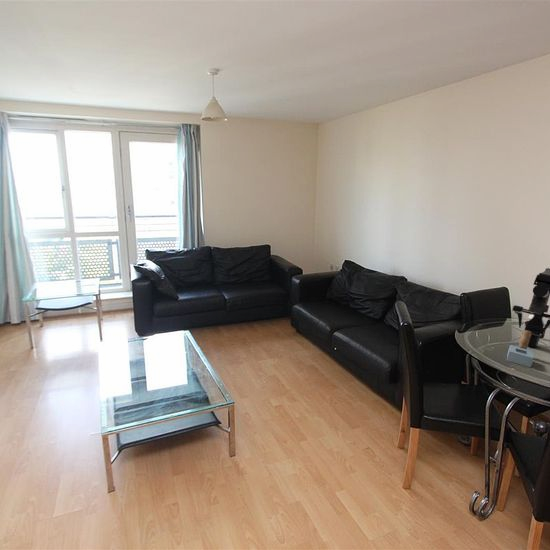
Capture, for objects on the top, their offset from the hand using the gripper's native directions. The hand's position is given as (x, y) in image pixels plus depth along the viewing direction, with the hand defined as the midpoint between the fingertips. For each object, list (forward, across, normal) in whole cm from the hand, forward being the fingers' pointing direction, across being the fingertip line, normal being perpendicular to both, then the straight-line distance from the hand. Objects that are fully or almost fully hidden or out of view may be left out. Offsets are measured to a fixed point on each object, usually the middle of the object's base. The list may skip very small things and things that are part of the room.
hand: (530, 330), depth 179 cm
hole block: (+16, -2, +6) cm, 17 cm away
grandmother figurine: (+2, -3, +52) cm, 52 cm away
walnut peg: (+13, -2, +15) cm, 20 cm away
